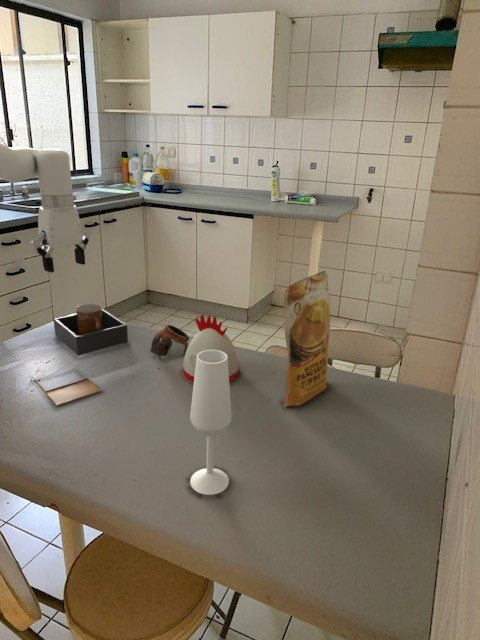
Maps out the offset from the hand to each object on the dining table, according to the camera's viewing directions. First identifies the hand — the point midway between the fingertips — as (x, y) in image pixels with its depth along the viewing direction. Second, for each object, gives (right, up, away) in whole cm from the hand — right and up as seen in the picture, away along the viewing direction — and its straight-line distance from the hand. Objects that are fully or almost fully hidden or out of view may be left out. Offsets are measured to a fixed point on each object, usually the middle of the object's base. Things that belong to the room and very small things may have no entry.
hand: (65, 267), depth 123 cm
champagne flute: (+41, -42, -43) cm, 73 cm away
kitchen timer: (+39, -27, -6) cm, 48 cm away
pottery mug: (+27, -23, +2) cm, 35 cm away
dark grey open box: (+5, -20, +7) cm, 22 cm away
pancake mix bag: (+61, -31, -14) cm, 70 cm away
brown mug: (+5, -19, +6) cm, 21 cm away
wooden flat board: (+6, -29, -16) cm, 34 cm away
